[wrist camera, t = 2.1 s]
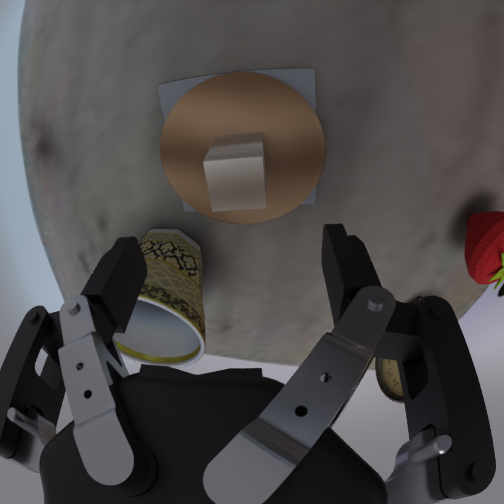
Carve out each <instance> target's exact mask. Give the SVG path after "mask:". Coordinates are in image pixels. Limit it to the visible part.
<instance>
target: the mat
mask: <svg viewBox="0 0 504 504" xmlns="http://www.w3.org/2000/svg"><path fill="white" fill-rule="evenodd" d="M238 72H252V73H259V74H263V75H267V76H270V77H273V78H275V79H278V80H280V81H282V82H284V83H285V84H287V85H289V86H290V87H292V88H293V89H294V90H296V91H297V92H298V93H299V94H300V95H301V96H302V97H303V98H304V99H305V100H306V101H307V102H308V103H309V105H310V106H311V107H312V109H313V110H314V112H315V113H316V88H315V69H314V68H284V69H263V70H249V71H238ZM229 73H233V72H229ZM222 74H227V73H221V74H213V75H206V76H200V77H194V78H188V79H183V80H177V81H172V82H168V83H163V84H159V85H157V86H158V92H159V97H160V103H161V108H162V113H163V118H164V123H165V122H166V119H167V117H168V115H169V113H170V112H171V110H172V108H173V107H174V105H175V104H176V103H177V102H178V101H179V99H180V98H181V97H182V96H183V95H185V94H186V93H187V92H188V91H189V90H190V89H192V88H193V87H195V86H196V85H198V84H200V83H202V82H204V81H206V80H208V79H210V78H212V77H216V76H219V75H222ZM181 200H182V199H181ZM182 204H183V208H184V212H195V211H196V210H194V209H193V208H192V207H191V206H189V205H188V204H187V203H186V202H185V201H184V200H182ZM312 204H316V186H315V188H314V189H313V191H312V192H311V193H310V195H309V196H308V197H307V198H306V199H305V200H304V201H303V202H302V203H301V204H300V205H312Z"/></svg>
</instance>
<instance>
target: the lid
mask: <svg viewBox="0 0 504 504" xmlns="http://www.w3.org/2000/svg"><path fill="white" fill-rule="evenodd" d="M160 153H161V160H162V165H163V168H164V172H165V174H166V176H167V179H168V181H169V183H170V184H171V186H172V187H173V189H174V190H175V192H176V193H177V194H178V195H179V197H180V198H181V199H182V200H184V201H185V202H186V203H187V204H188V205H189V206H191V207H192V208H193V209H194V210H196V211H198V212H200V213H201V214H203V215H205V216H207V217H210V218H212V219H215V220H218V221H221V222H226V223H231V224H257V223H262V222H267V221H270V220H273V219H276V218H279V217H281V216H283V215H285V214H287V213H289V212H290V211H292V210H293V209H295V208H296V207H297V206H299V205H300V204H301V203H302V202H303V201H304V200H305V199H306V198H307V197H308V196H309V195H310V193H311V192H312V191H313V189H314V188H315V186H316V184H317V183H318V181H319V179H320V176H321V174H322V171H323V167H324V163H325V154H326V147H325V138H324V133H323V129H322V126H321V124H320V121H319V119H318V117H317V115H316V113H315V112H314V110H313V109H312V107H311V106H310V105H309V103H308V102H307V101H306V100H305V99H304V98H303V97H302V96H301V95H300V94H299V93H298V92H297V91H296V90H294V89H293V88H292V87H290V86H289V85H287V84H285V83H284V82H282V81H280V80H278V79H275V78H273V77H270V76H267V75H263V74H259V73H252V72H233V73H227V74H222V75H219V76H216V77H212V78H210V79H208V80H206V81H204V82H202V83H200V84H198V85H196V86H195V87H193V88H192V89H190V90H189V91H188V92H187V93H186V94H185V95H183V96H182V97H181V98H180V99H179V101H178V102H177V103H176V104H175V105H174V107H173V108H172V110H171V112H170V113H169V115H168V117H167V119H166V122H165V124H164V127H163V131H162V135H161V143H160Z"/></svg>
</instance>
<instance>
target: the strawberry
mask: <svg viewBox="0 0 504 504" xmlns="http://www.w3.org/2000/svg"><path fill="white" fill-rule="evenodd" d="M465 261H466V265H467V269H468V273H469V275H470V276H471V277H472V278H473V279H474V280H475V281H476V282H477V283H478V284H491V283H494V282H496V281H498V282H497V284H496V286H495V288H496V287H497V286H498V285H499V284H500V283H501V282H502V281H503V280H504V212H500V211H496V212H483V213H479V214H472V215H471V216H470V217H469V218H468V221H467V232H466V239H465ZM495 288H494V289H495Z"/></svg>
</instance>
